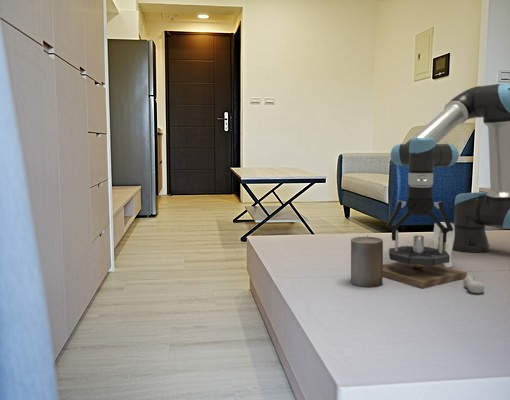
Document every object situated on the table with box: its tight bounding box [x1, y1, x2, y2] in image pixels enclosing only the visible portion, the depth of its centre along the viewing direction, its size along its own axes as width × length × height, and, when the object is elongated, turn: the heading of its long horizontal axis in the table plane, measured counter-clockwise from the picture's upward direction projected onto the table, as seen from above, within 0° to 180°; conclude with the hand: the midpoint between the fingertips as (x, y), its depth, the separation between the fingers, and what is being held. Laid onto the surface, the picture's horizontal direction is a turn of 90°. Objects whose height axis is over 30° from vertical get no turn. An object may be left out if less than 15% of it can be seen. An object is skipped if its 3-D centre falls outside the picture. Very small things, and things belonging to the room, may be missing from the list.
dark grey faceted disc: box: [388, 245, 450, 265], centre depth 154 cm, size 18×18×2 cm
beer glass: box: [433, 221, 455, 268], centre depth 166 cm, size 7×7×15 cm
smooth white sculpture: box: [463, 274, 485, 295], centre depth 138 cm, size 4×8×5 cm
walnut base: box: [382, 261, 468, 289], centre depth 154 cm, size 21×21×2 cm
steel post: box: [412, 234, 425, 271], centre depth 154 cm, size 4×4×11 cm
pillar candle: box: [350, 234, 384, 288], centre depth 146 cm, size 10×10×15 cm
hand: (418, 251), depth 153 cm, fingers open, 13 cm apart
